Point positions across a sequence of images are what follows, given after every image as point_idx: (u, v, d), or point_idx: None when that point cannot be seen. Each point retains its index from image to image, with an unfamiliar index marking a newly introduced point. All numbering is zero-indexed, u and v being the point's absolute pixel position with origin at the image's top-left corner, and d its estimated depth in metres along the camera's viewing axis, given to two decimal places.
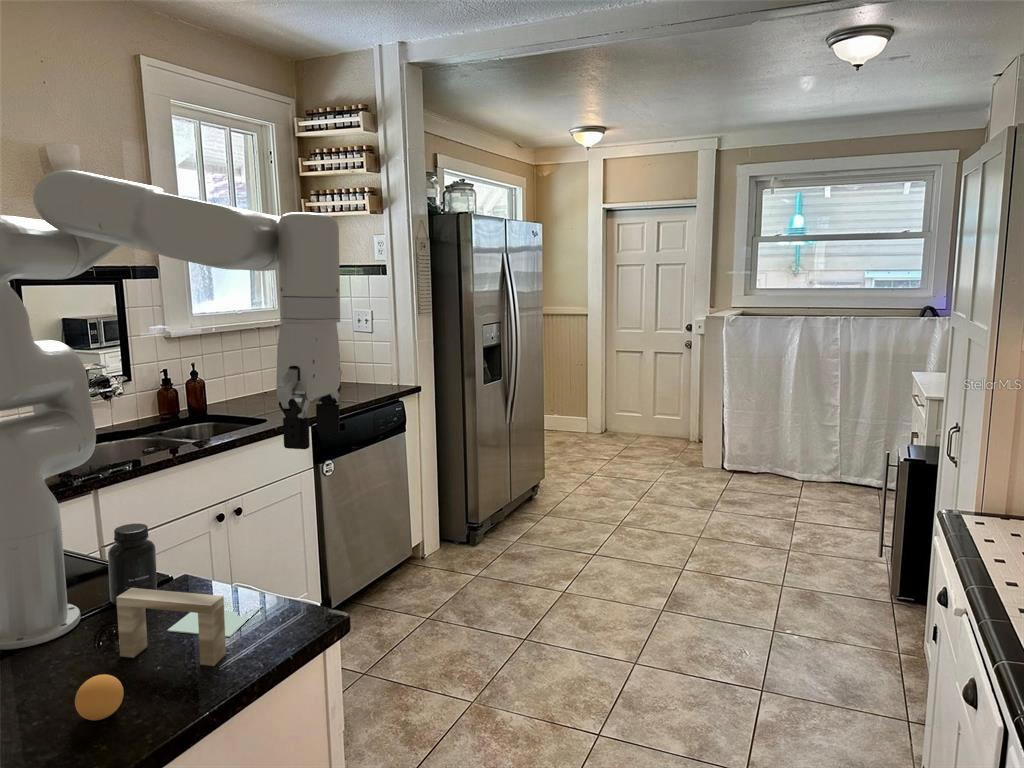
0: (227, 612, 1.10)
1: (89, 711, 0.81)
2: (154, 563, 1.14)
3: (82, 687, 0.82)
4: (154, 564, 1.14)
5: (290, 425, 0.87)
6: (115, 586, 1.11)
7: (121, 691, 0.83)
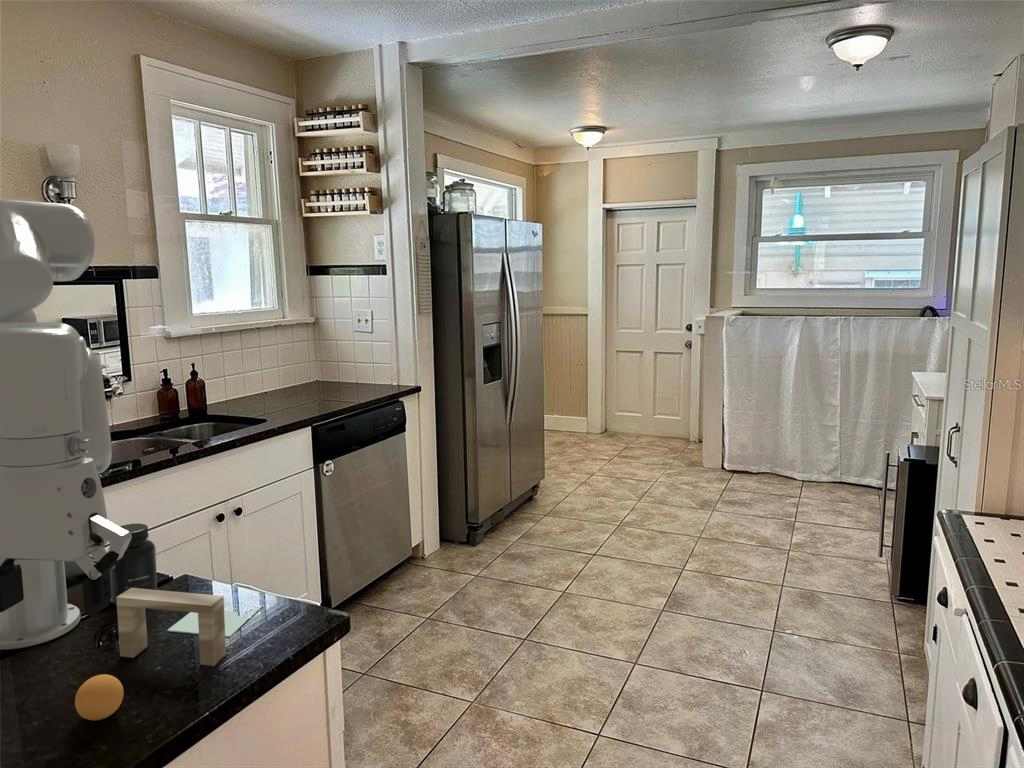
0: (227, 612, 1.10)
1: (89, 711, 0.81)
2: (154, 563, 1.14)
3: (82, 687, 0.82)
4: (154, 564, 1.14)
5: None
6: (115, 586, 1.11)
7: (121, 691, 0.83)
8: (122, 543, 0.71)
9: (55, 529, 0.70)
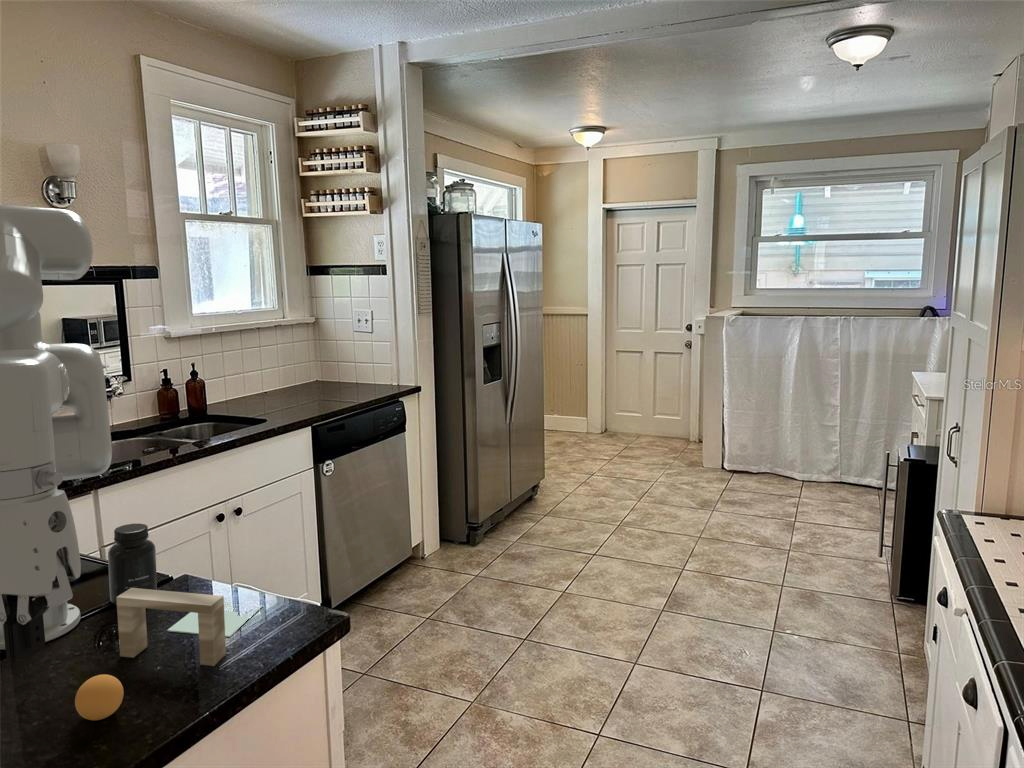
0: (227, 612, 1.10)
1: (89, 711, 0.81)
2: (154, 563, 1.14)
3: (82, 687, 0.82)
4: (154, 564, 1.14)
5: None
6: (115, 586, 1.11)
7: (121, 691, 0.83)
8: (58, 603, 0.70)
9: (22, 564, 0.68)
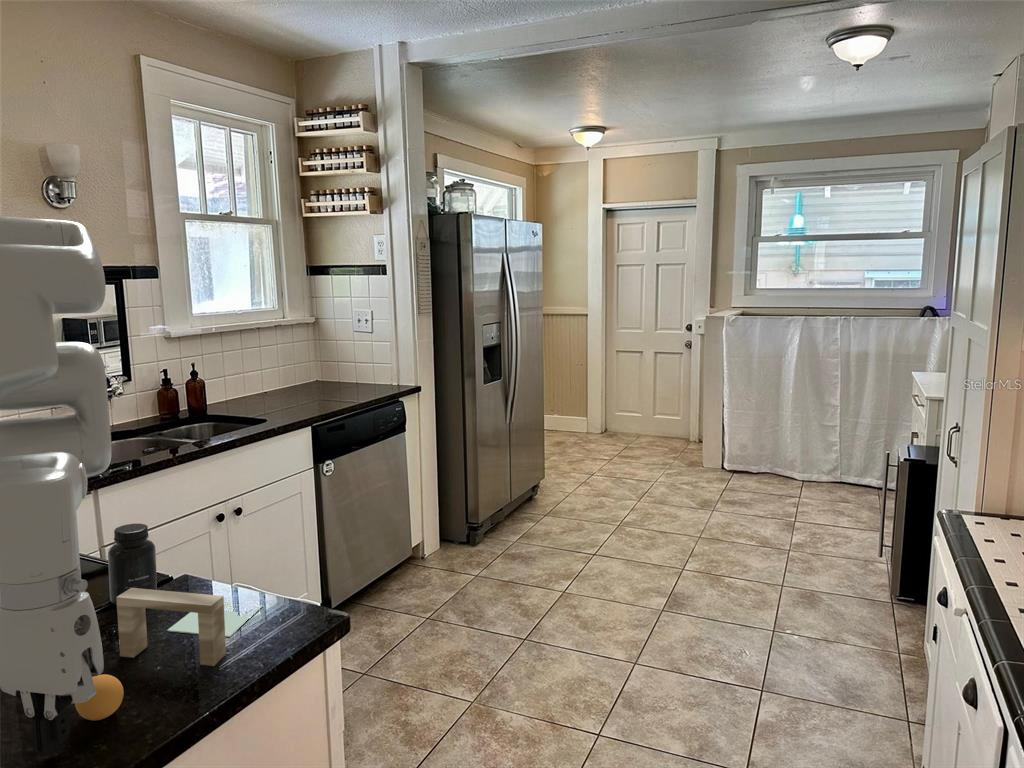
0: (227, 612, 1.10)
1: (89, 711, 0.81)
2: (154, 563, 1.14)
3: None
4: (154, 564, 1.14)
5: None
6: (115, 586, 1.11)
7: (121, 691, 0.83)
8: (83, 701, 0.74)
9: (49, 667, 0.72)
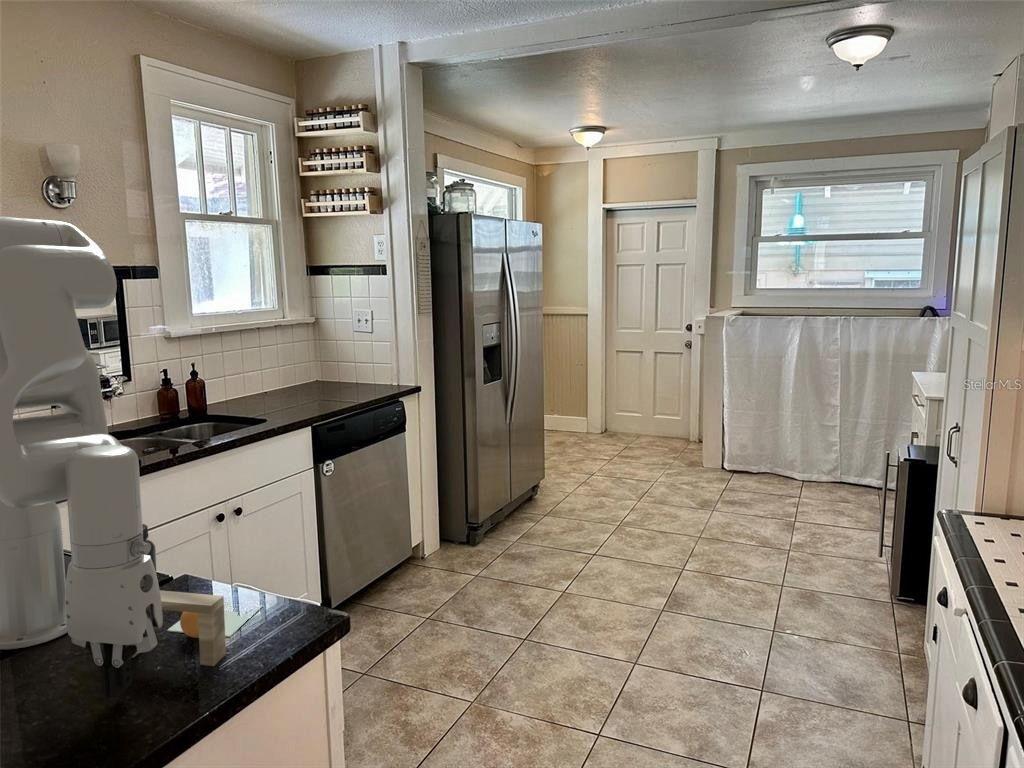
0: (227, 612, 1.10)
1: None
2: (154, 563, 1.14)
3: None
4: (154, 564, 1.14)
5: None
6: None
7: None
8: (146, 650, 0.84)
9: (118, 619, 0.82)
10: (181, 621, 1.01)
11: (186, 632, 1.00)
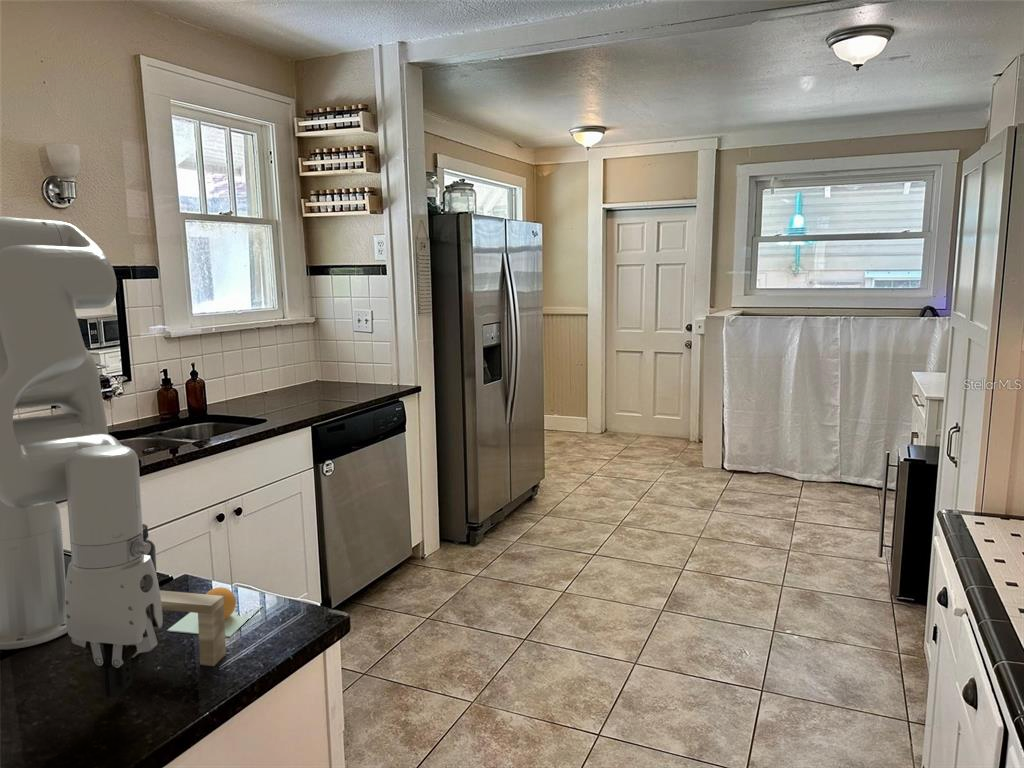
0: None
1: None
2: (154, 563, 1.14)
3: None
4: (154, 564, 1.14)
5: None
6: None
7: (228, 609, 1.06)
8: (146, 650, 0.84)
9: (118, 619, 0.82)
10: None
11: (215, 588, 1.07)
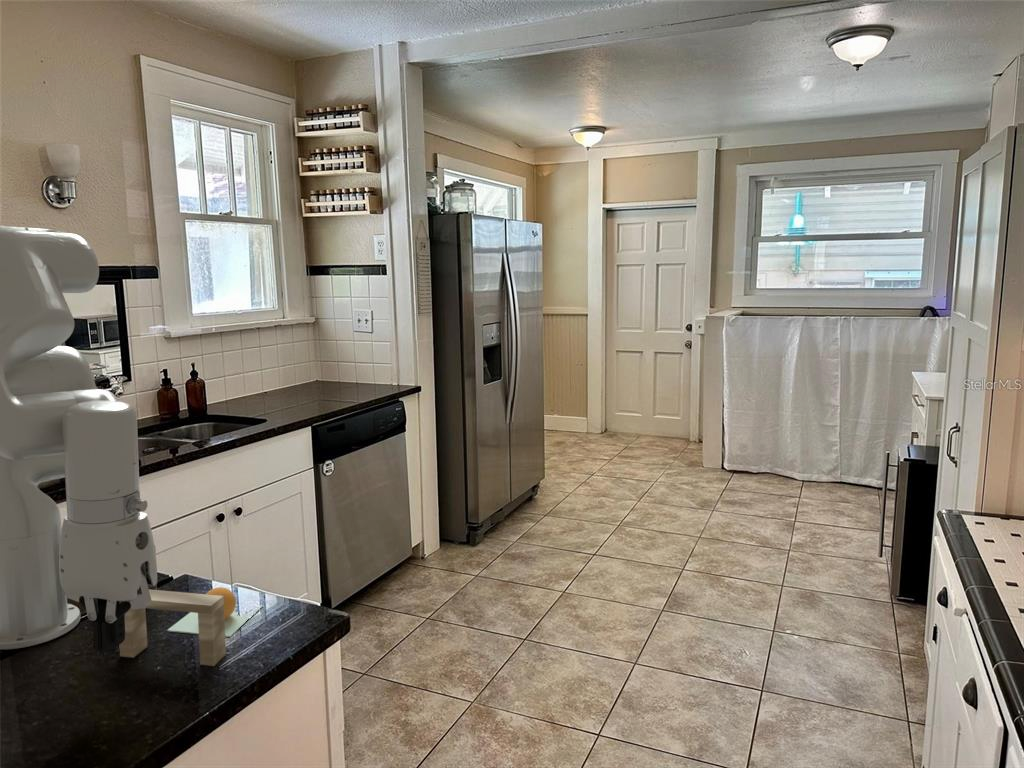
0: None
1: None
2: None
3: None
4: None
5: None
6: None
7: (228, 609, 1.06)
8: (140, 607, 0.84)
9: (113, 575, 0.82)
10: None
11: (215, 588, 1.07)
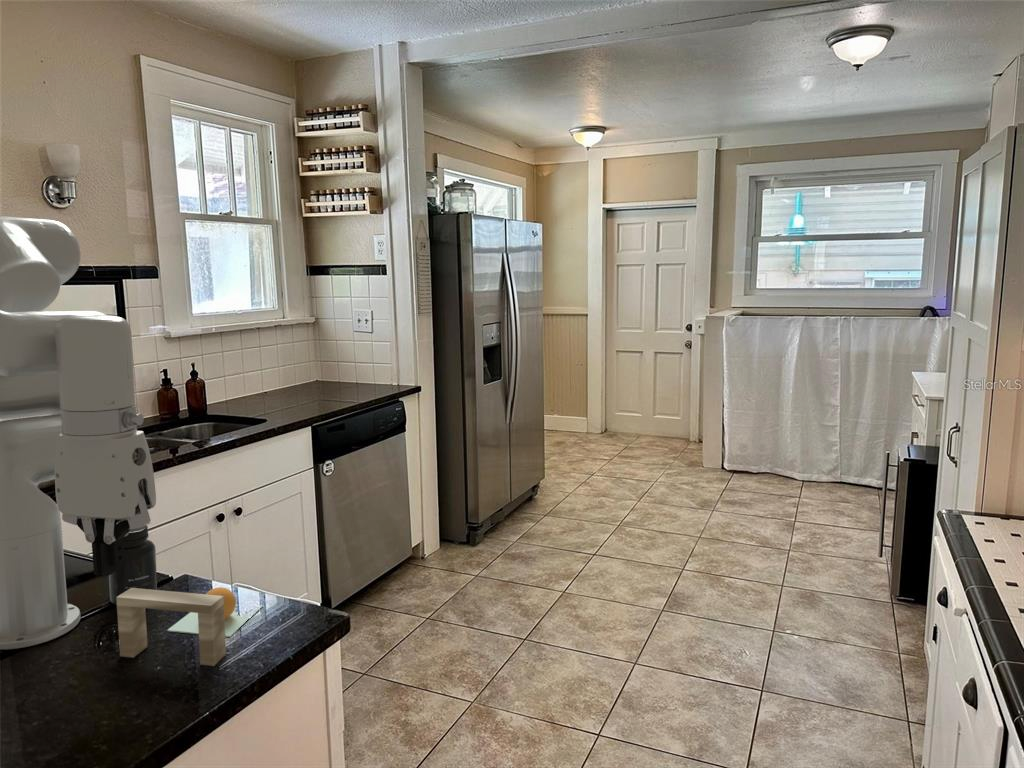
0: None
1: None
2: (154, 563, 1.14)
3: None
4: (154, 564, 1.14)
5: None
6: (115, 586, 1.11)
7: (228, 609, 1.06)
8: (139, 526, 0.82)
9: (110, 491, 0.80)
10: None
11: (215, 588, 1.07)
